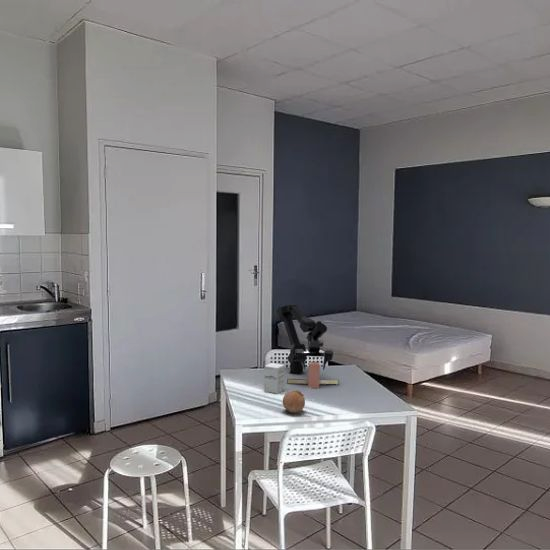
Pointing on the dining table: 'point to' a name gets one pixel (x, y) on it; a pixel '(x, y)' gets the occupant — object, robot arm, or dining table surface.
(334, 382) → the price rail
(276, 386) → the supplement box
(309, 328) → the robot arm
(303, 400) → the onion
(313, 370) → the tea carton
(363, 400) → the dining table surface
